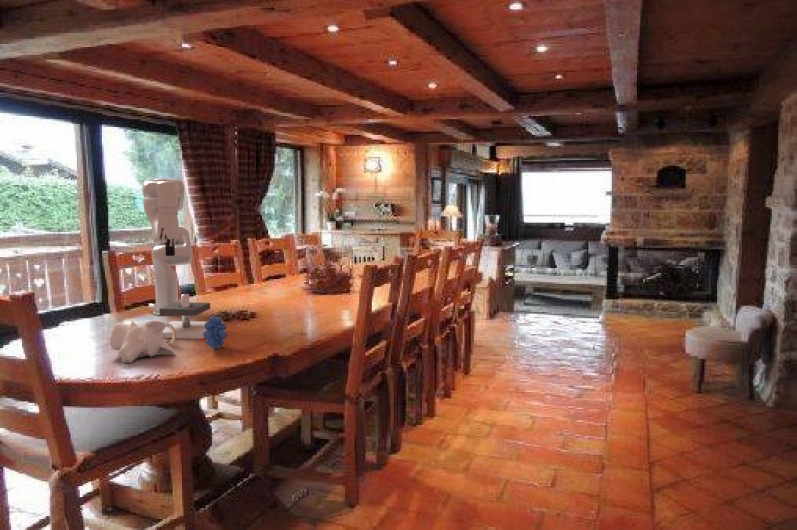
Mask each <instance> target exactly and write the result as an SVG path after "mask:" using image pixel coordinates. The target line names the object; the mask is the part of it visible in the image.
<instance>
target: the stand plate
mask: <svg viewBox="0 0 797 530" xmlns="http://www.w3.org/2000/svg"><path fill="white" fill-rule="evenodd" d="M206 322H207V321H199V320H196V321H191V320H190V327H188V328H183V327H182V320H171V321H168V324H169V323H170V324H171V325H172V326H173V327H174V328H175V330H176V338H175V339H199V340H200V339H204V338H205V337H204V335H203V333H204V331H206V328H205V327H204V325H205V323H206ZM222 323H224V321H222ZM163 336H164V339H167V338H168V339H172V338H173V334H172V331H171V329H170V328H168V327H165V329H164V330H163ZM205 339H206V338H205Z"/></svg>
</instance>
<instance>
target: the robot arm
mask: <svg viewBox="0 0 797 530" xmlns="http://www.w3.org/2000/svg"><path fill="white" fill-rule="evenodd" d="M142 194H143V197H144V199H143V209H144V213H145V215H146V217H147V220H148V222H149V223H150V225H151V226H150V227H151V232H152V233H151V234H152V240H153V244H154V245H155V246H154V247H153V248H152V249H151V260H152V265H153V271H154V272H153V273H154V290H155V303H148V309H153V310H152V314H153V315H154V316H161V315H160V311H159V309H160V308H163V307H166V306H168V305H171V304H174V303H176V302H179V295H178V294H179V292H178V291H179V289H178V275H177V273H176V271H175V270H174V269H173V268H172V266H173V267H174V266H184V265H189V264H191V263H192V261H193V255H194V254H193V250H192V243H191V238H190V233H189V231H188V229H187V228H185V227H180V224H179V217H178V215H179V212H180V211H183V209H184V208H183V207H184V201H185V185H184V182H183V180H182V179H181V178H167V177H166V178H165V177H164V178H163V177H162V178H161V177H160V178H159V177H158V178H155V179H151V180H145V181H144V182H143V183H142Z"/></svg>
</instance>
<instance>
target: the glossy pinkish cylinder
mask: <svg viewBox="0 0 797 530" xmlns="http://www.w3.org/2000/svg"><path fill="white" fill-rule="evenodd" d="M180 302H181V307H189V306H190V305H189V302H190V294H188V293H183V294H180ZM181 321H182V327H183V328H188V327H190V321H191V316H181Z"/></svg>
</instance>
